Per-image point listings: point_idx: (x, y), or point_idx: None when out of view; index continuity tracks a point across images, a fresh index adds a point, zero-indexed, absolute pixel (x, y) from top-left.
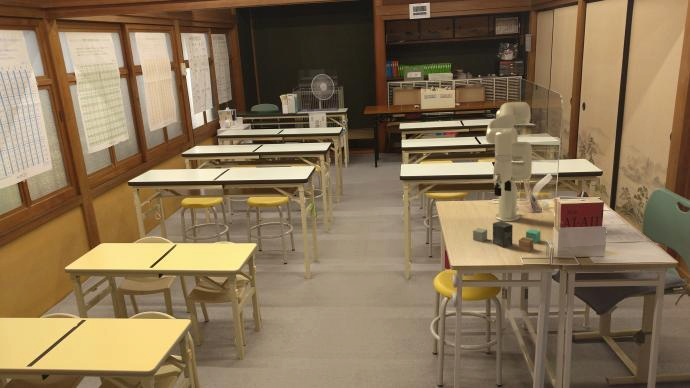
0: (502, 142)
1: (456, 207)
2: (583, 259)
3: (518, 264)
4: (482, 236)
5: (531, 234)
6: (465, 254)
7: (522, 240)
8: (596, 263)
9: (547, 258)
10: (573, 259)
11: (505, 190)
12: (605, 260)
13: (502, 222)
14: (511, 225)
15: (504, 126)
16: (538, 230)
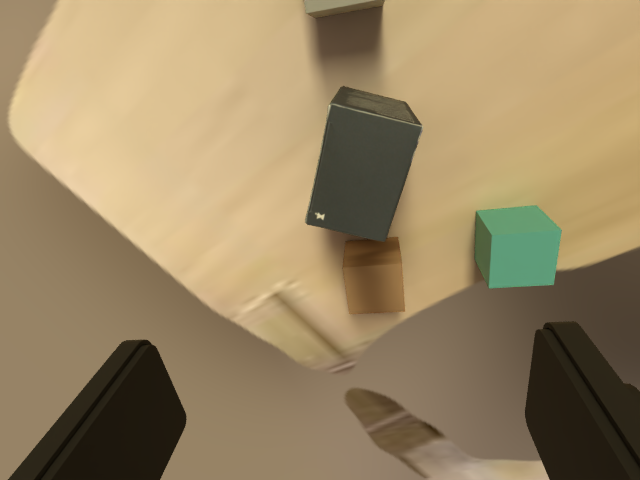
0: None
1: None
2: (410, 431)
3: (217, 310)
4: (315, 14)
5: (487, 260)
6: (108, 78)
7: (350, 282)
8: (402, 460)
9: (340, 356)
10: (390, 412)
11: (534, 343)
12: (443, 469)
13: (386, 160)
14: (373, 239)
15: None
16: (554, 274)
